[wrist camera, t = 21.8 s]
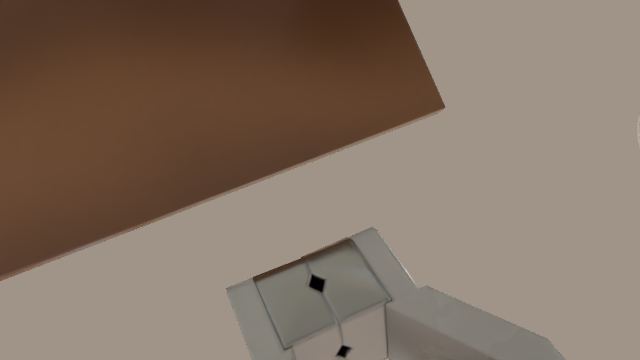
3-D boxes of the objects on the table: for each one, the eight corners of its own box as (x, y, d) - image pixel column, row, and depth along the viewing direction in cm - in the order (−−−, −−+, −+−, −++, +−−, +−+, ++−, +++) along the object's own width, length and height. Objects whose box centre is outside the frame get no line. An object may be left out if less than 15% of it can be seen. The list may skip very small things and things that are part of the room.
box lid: (437, 113, 21) (446, 107, 20) (-15, 287, 17) (-26, 287, 16) (304, -188, 22) (307, -205, 21) (-145, -86, 18) (-161, -101, 18)
